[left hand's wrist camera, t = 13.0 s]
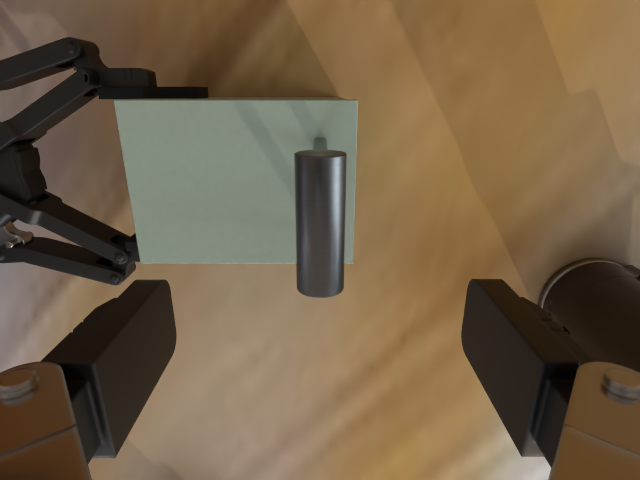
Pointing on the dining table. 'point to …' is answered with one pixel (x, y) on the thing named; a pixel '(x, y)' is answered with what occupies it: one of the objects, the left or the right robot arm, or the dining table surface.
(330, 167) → the lid
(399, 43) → the dining table surface
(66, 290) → the dining table surface
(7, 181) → the right robot arm
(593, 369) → the left robot arm
